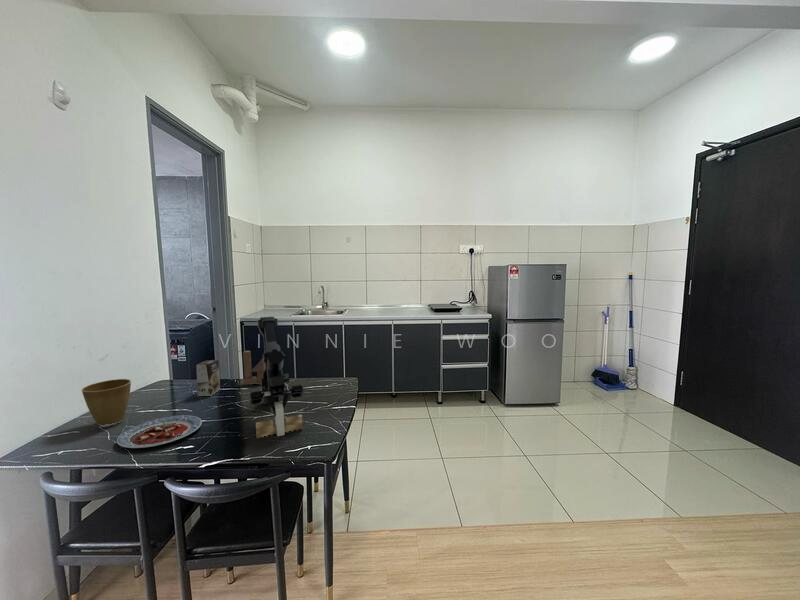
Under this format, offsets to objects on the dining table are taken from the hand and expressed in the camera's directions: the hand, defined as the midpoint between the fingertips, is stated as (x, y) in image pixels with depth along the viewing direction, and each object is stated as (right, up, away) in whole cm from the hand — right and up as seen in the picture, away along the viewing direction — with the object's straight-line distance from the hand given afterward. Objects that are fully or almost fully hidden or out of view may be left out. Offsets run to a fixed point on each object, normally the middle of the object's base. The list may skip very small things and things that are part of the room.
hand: (279, 415), depth 127 cm
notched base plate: (0, -7, +2) cm, 7 cm away
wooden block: (-34, -3, +59) cm, 68 cm away
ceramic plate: (-44, -8, +2) cm, 45 cm away
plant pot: (-72, -7, +12) cm, 73 cm away
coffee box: (-50, -5, +45) cm, 67 cm away
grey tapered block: (0, -6, +2) cm, 7 cm away
